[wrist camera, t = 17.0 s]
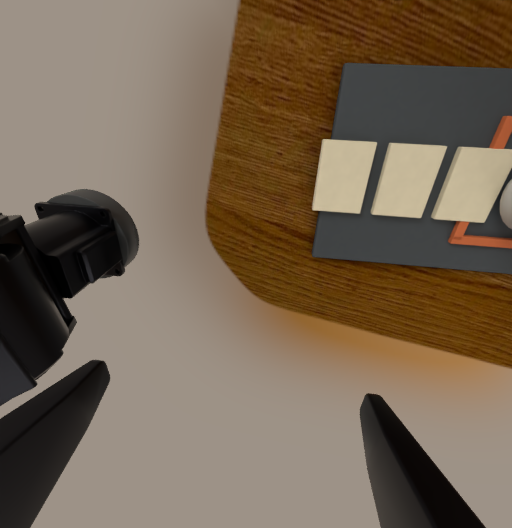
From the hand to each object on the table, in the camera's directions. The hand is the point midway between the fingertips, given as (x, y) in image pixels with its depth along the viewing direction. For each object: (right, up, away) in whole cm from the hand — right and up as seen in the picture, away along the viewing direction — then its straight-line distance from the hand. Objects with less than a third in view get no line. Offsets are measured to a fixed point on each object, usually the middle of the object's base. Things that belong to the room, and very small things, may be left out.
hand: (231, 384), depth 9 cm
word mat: (+15, +9, +8) cm, 20 cm away
